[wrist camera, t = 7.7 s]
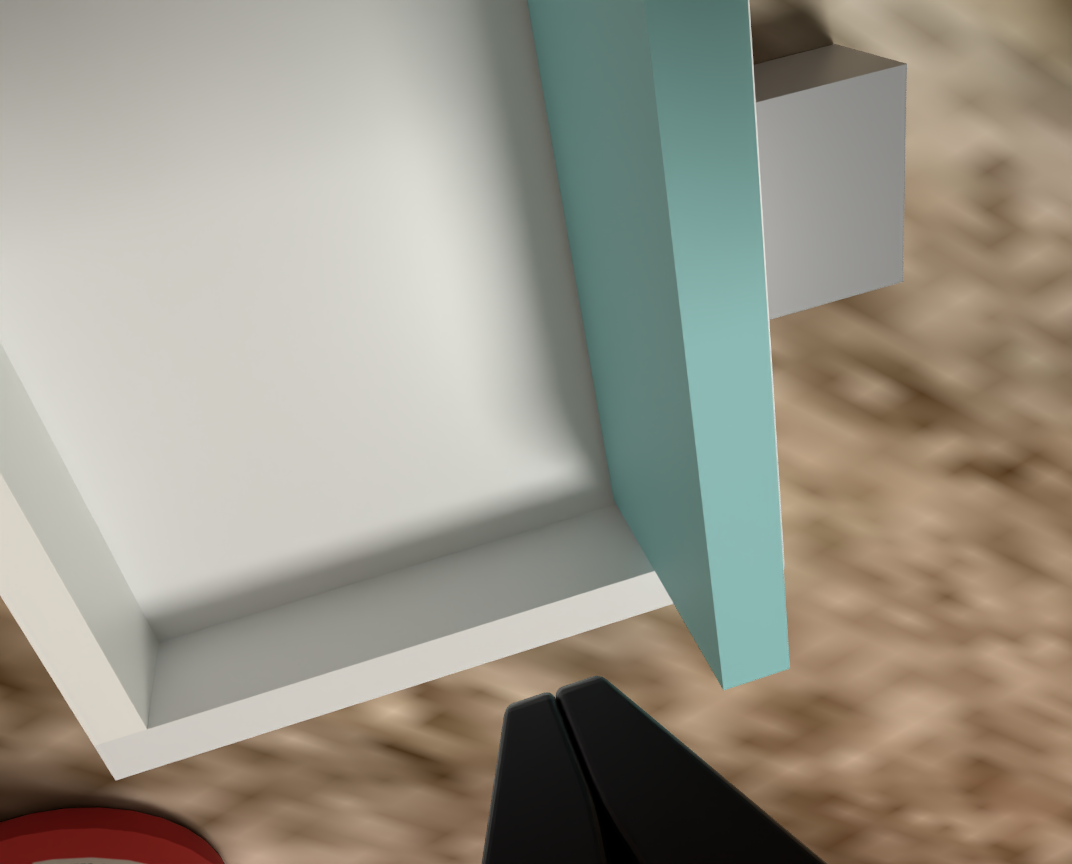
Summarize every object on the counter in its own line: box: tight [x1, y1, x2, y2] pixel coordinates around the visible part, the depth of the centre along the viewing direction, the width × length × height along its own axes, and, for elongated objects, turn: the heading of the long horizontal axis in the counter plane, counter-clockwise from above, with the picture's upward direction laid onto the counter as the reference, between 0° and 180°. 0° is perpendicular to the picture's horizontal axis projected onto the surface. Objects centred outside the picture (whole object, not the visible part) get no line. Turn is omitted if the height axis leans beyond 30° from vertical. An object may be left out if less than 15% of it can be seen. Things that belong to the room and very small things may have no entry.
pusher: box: [527, 0, 790, 690], centre depth 16 cm, size 1×12×6 cm, turn 11°
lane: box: [0, 0, 907, 780], centre depth 17 cm, size 17×15×3 cm
